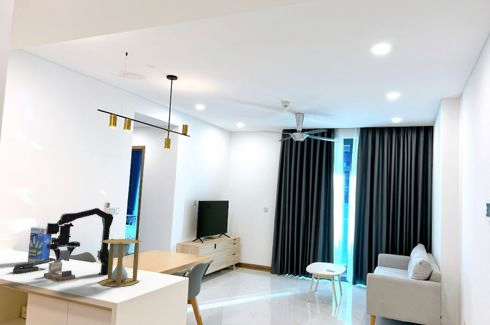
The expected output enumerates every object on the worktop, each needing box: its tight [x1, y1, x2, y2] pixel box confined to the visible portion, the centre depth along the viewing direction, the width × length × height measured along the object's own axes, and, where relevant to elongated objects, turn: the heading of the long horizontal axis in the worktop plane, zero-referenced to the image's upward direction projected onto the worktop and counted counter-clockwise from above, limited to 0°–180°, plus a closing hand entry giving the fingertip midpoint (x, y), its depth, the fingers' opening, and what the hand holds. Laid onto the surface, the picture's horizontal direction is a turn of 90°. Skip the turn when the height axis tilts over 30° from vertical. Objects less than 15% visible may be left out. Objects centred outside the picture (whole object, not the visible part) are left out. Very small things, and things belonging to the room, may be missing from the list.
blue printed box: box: [27, 226, 53, 264], centre depth 263 cm, size 13×8×26 cm, turn 73°
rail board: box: [43, 260, 76, 282], centre depth 220 cm, size 18×10×10 cm, turn 56°
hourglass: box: [97, 238, 143, 288], centre depth 215 cm, size 24×22×25 cm
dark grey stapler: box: [12, 257, 56, 275], centre depth 237 cm, size 9×7×25 cm
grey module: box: [55, 249, 71, 262], centre depth 220 cm, size 4×6×6 cm
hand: (62, 259), depth 220 cm, fingers closed on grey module, 6 cm apart
